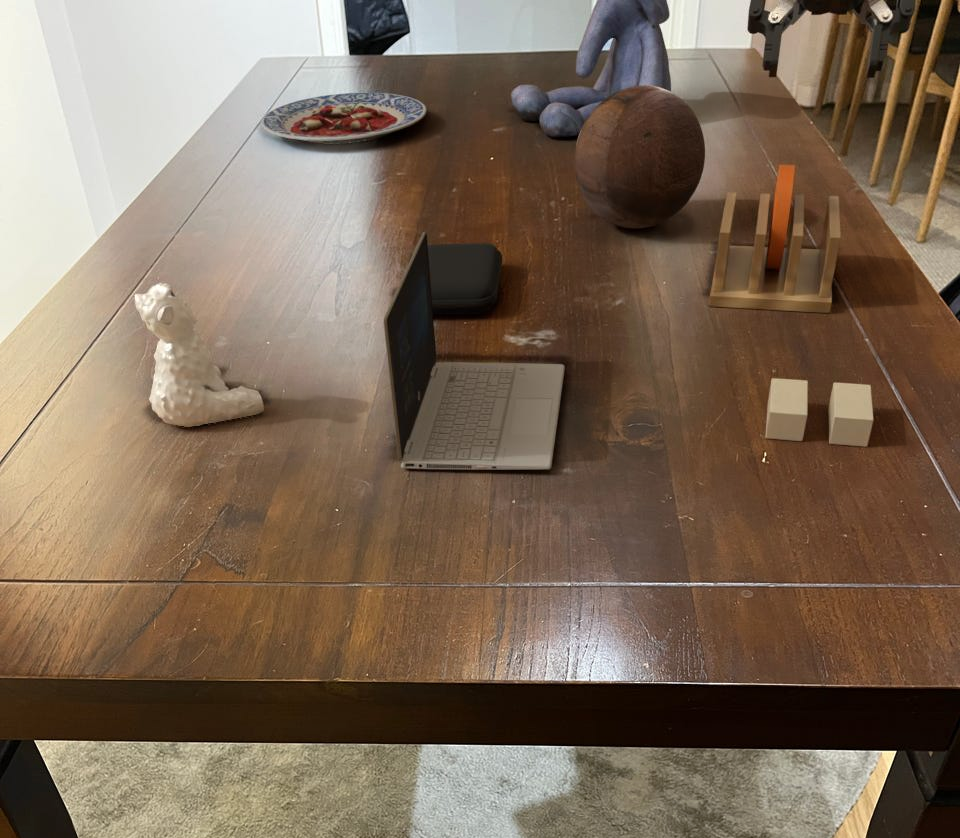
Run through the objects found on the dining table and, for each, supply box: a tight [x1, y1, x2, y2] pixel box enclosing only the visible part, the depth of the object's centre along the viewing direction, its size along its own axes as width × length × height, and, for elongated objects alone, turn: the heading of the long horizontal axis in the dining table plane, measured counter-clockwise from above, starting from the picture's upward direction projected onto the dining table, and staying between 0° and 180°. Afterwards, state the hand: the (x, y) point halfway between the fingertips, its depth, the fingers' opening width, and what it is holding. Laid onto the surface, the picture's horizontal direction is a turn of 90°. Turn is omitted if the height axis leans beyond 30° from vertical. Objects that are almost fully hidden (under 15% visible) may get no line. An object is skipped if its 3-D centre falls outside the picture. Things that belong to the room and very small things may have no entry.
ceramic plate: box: [261, 92, 427, 144], centre depth 158 cm, size 26×26×3 cm
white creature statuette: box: [134, 282, 265, 427], centre depth 87 cm, size 10×9×12 cm
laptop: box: [383, 230, 566, 471], centre depth 84 cm, size 18×12×13 cm
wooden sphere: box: [574, 85, 706, 229], centre depth 117 cm, size 15×15×15 cm
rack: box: [708, 191, 842, 314], centre depth 105 cm, size 12×14×7 cm
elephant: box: [510, 0, 672, 139], centre depth 151 cm, size 21×25×21 cm
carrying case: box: [428, 242, 503, 316], centre depth 108 cm, size 11×3×15 cm
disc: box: [765, 164, 796, 270], centre depth 105 cm, size 2×10×10 cm, turn 166°
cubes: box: [764, 377, 874, 448], centre depth 84 cm, size 8×6×2 cm
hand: (822, 72), depth 91 cm, fingers open, 8 cm apart
